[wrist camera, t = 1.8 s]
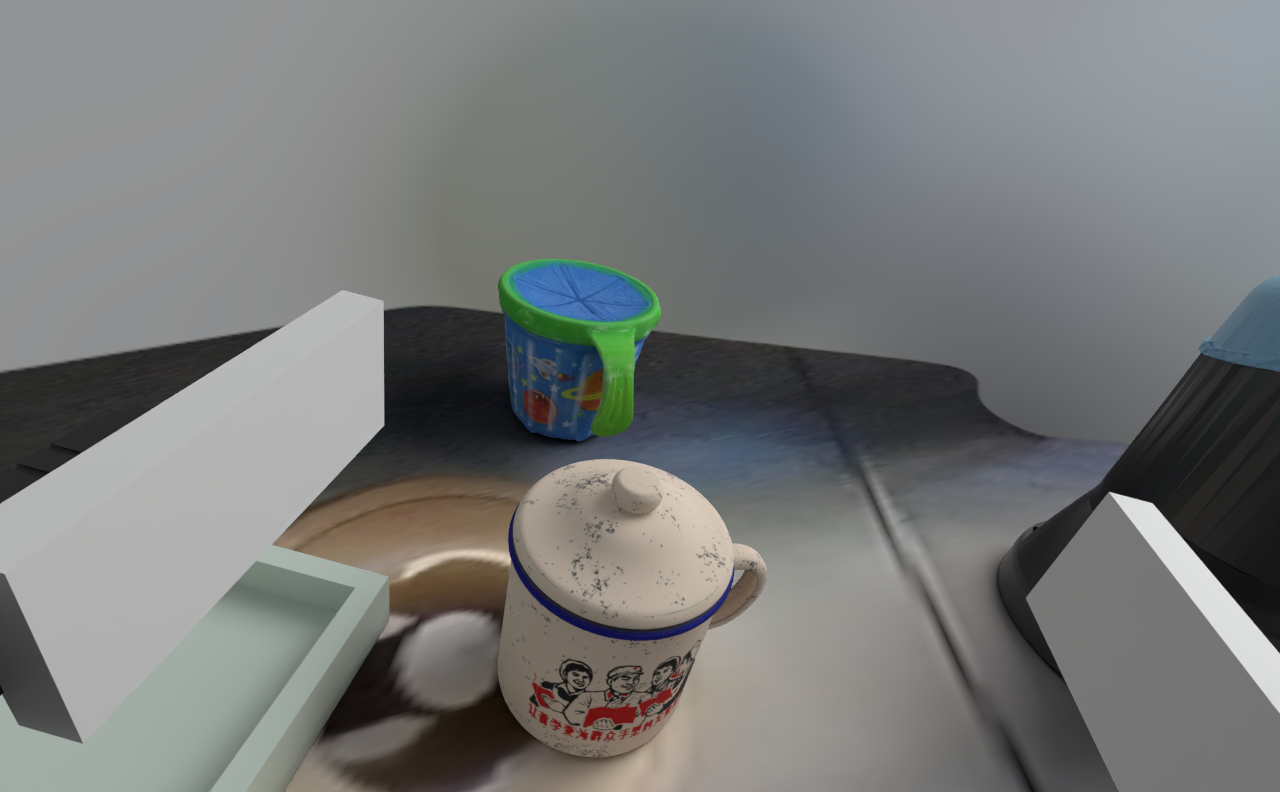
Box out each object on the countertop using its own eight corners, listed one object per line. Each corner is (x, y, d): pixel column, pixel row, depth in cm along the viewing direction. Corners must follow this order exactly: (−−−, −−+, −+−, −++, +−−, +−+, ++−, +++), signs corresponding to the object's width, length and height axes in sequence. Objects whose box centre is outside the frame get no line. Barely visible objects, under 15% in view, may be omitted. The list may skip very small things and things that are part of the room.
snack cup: (475, 359, 51) (484, 237, 45) (599, 360, 55) (621, 248, 49) (506, 490, 39) (524, 345, 33) (663, 479, 43) (701, 348, 37)
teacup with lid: (503, 788, 24) (538, 587, 18) (482, 599, 32) (503, 409, 26) (770, 734, 29) (870, 555, 23) (699, 578, 36) (760, 409, 30)
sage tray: (389, 620, 30) (389, 576, 28) (-110, 1430, 12) (-182, 1432, 11) (68, 532, 30) (50, 484, 28) (-839, 1197, 13) (-1009, 1170, 11)
